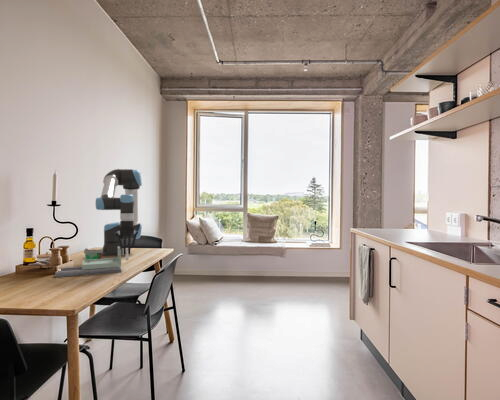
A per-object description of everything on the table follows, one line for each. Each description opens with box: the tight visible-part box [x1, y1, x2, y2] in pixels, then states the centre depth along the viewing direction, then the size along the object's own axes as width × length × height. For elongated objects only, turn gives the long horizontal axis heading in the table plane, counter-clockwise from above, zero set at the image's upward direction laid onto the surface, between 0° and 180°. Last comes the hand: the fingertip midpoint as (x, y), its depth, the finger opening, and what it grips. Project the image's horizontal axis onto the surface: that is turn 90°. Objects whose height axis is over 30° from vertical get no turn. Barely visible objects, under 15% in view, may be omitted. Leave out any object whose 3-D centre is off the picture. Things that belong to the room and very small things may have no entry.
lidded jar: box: [36, 251, 52, 262], centre depth 204 cm, size 11×11×9 cm
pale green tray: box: [81, 246, 122, 270], centre depth 197 cm, size 16×20×10 cm
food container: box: [83, 247, 103, 260], centre depth 212 cm, size 12×6×10 cm, turn 73°
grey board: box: [54, 265, 122, 279], centre depth 195 cm, size 18×33×2 cm, turn 114°
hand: (126, 259), depth 203 cm, fingers closed
